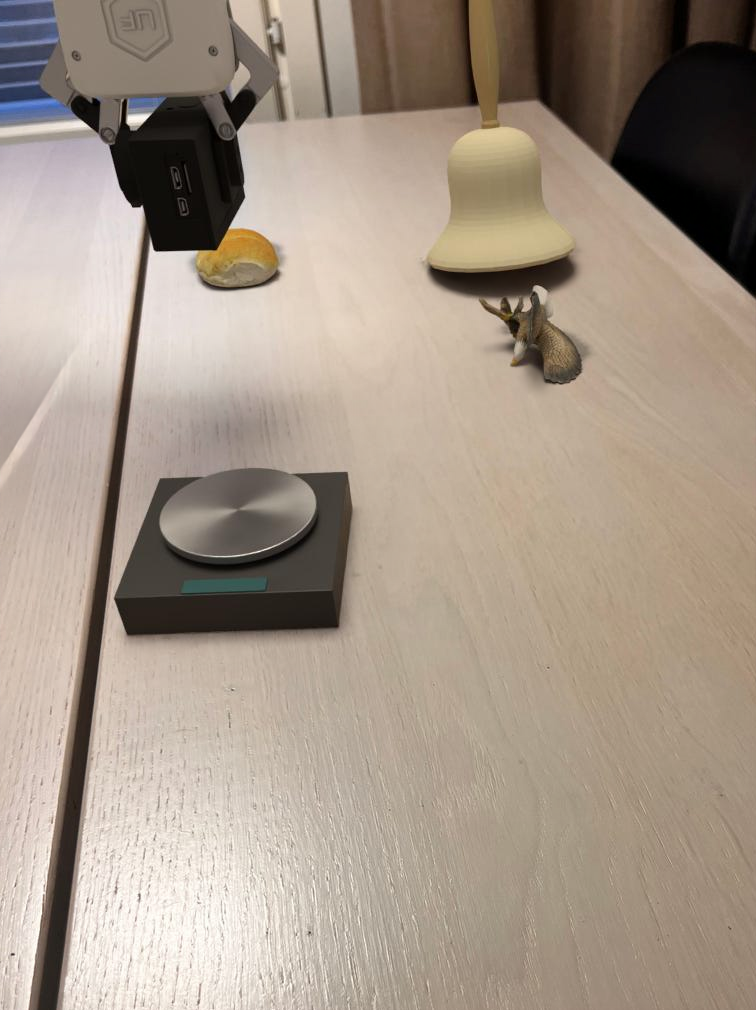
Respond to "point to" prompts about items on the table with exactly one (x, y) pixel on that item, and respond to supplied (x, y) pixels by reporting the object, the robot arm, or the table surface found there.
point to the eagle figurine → (539, 335)
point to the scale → (239, 575)
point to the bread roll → (238, 260)
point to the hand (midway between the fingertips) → (185, 196)
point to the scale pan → (238, 515)
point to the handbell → (495, 181)
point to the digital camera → (175, 177)
